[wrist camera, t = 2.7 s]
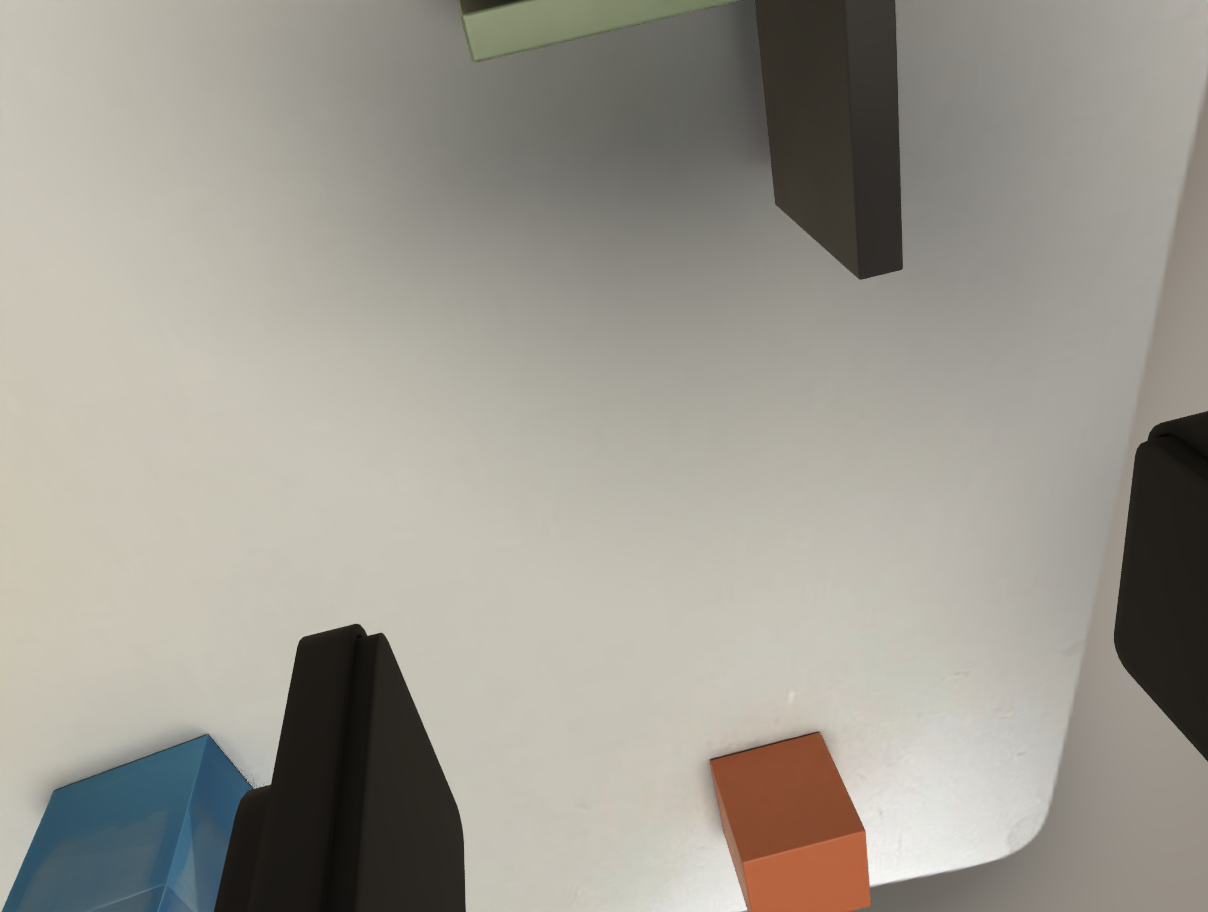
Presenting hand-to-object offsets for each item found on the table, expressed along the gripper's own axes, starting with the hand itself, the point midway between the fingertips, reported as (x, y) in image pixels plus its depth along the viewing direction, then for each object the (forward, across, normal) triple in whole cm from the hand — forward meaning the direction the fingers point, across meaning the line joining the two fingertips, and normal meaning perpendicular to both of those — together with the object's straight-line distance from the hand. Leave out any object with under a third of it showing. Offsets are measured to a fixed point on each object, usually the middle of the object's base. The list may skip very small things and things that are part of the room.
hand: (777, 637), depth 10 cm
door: (+19, -3, -2) cm, 20 cm away
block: (+20, -3, +27) cm, 34 cm away
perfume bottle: (+20, +20, +20) cm, 35 cm away
